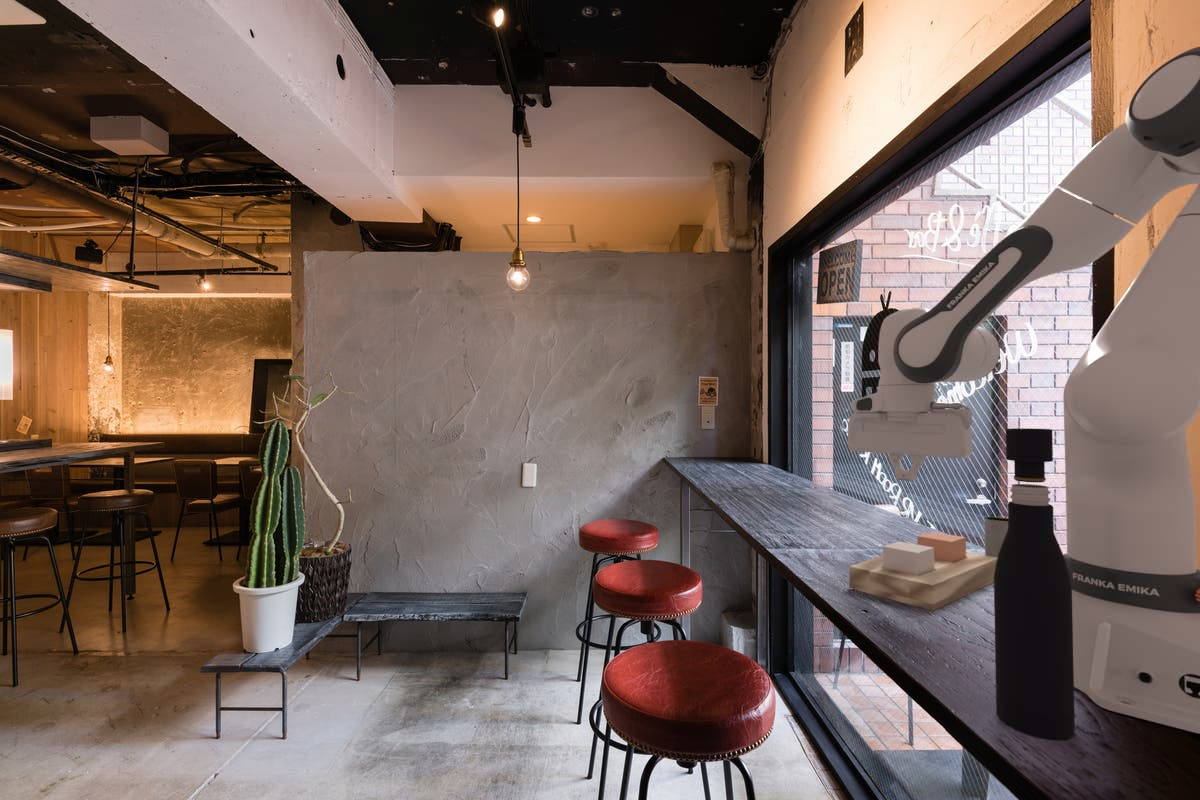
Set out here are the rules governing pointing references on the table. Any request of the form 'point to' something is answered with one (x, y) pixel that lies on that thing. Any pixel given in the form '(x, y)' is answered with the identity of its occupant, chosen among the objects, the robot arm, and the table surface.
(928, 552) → the beige block
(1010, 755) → the table surface
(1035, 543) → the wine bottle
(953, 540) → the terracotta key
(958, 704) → the table surface
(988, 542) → the planter
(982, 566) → the light brown flat block
